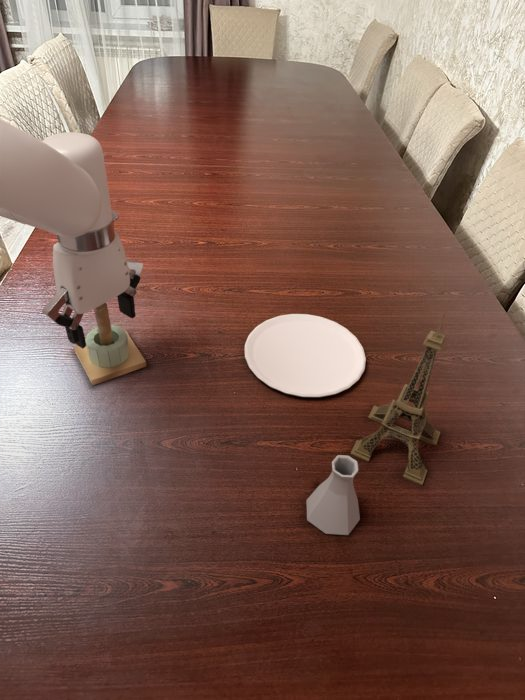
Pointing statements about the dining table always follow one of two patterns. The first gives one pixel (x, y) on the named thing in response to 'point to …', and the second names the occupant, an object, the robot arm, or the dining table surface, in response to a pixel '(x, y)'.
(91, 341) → the pale green ring
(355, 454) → the eiffel tower
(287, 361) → the plate
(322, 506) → the flask
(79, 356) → the stand
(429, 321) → the dining table surface
